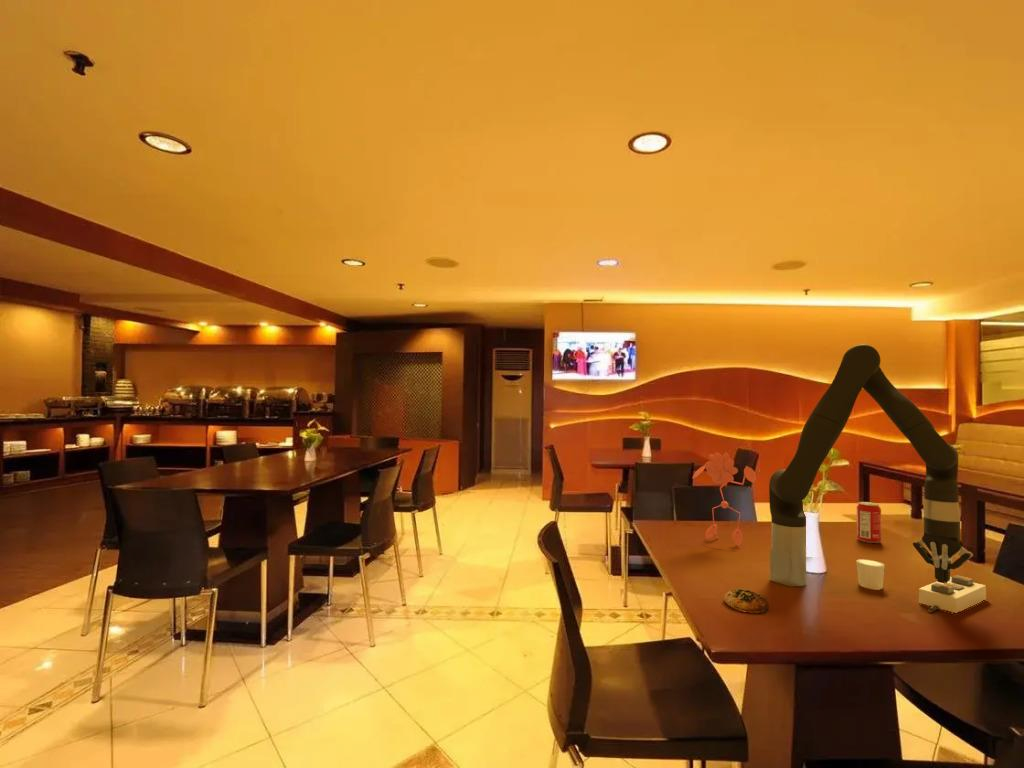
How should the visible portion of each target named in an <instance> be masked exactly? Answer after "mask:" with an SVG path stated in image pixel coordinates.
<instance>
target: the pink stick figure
mask: <svg viewBox="0 0 1024 768" xmlns="http://www.w3.org/2000/svg"><path fill="white" fill-rule="evenodd" d="M708 459H709V461H706V462H705V464H704V465H702V466H700V467H699V468H698V469H697V470H696V471H695V473H694V474H693V476H692V477H691V478H692V480H695V478H697V477H699V476H700V475H701V474H702V473H703V472H704V471H705V470H706V475H707V476H710V477H711V480H712V482H713V483H715V484H722V485H721V486H720V487H719V491H720V494H721V498H722V501H721V503H720V504H719V505H717V506H715V507H712V523H713V524H711V525H710V526H709V527H708V528H707V530H706V532H705V535H704V536H705V539H707V540H710V539H711V538H713V537H714V536H716V539H717V538H718V539H719V536H718V532H717V531H718V525H717V524H716V523H715V517H714V509H716V508H719V507H721V508H723V509H728V508H729V509H731V511H734V512H736V513H738V514H739V515H738V521H737V527H736V528H735V529H734V530H733V531H732V536H731V538H732V541H733V542H734V543H735V545H736V546H737V547H738V546H739V547H740V546H741V545H742V543H743V541H744V536H743V533H742V531H741V530H740V529H739V526H740V522H741V515H742V514H741V512H739V511H737V510H736V509H734V508H733V507H730V506H729V502H727V501H725V498H724V494H723V491H722V488H723V487H724V486H726V485H728V483H732V484H736V485H741V486H744V484H745V480H747V481H749V482H751V483H752V484H755V483H756V479H757V474H756V472H755V470H754V469H753V468H752V467H749V466H748V465H746V466H745V468H744V469H743V480H742V482H739V481H734V480H735V479H734V478H735V477H734V476H735V475H736V474H738V473H739V469H738V467H736V466H734V465H735V460H733V459H731V456H730V454H729V453H728V452H724V453H723V455H722V454H721V453H719V451H718V452H717V451H716V452H714V454H712V453H710V454H708Z"/></svg>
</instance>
